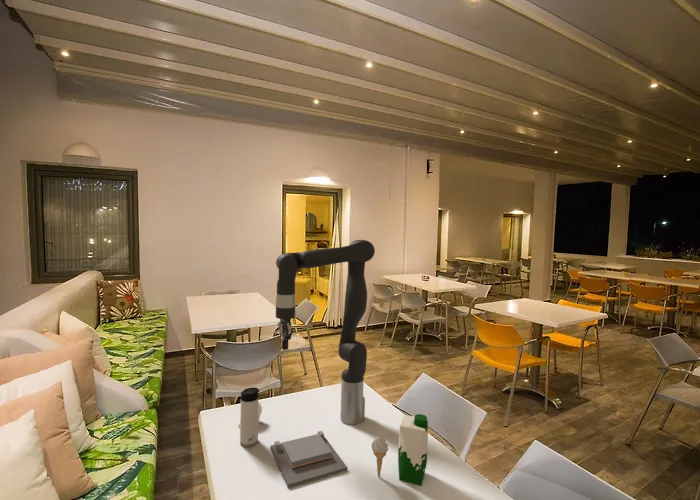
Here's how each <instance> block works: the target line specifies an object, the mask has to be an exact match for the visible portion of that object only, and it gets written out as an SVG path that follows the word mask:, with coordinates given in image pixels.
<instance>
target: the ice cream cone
mask: <svg viewBox="0 0 700 500" xmlns="http://www.w3.org/2000/svg"><path fill="white" fill-rule="evenodd" d="M378 433H379V434H378V435H377V437H375V439H373V441H372V443H371V445H370V446H371V450H372V452H373V455H374V457H376V471H377V478H380V477H381V472H382V464H383V459H384V457H386V456H387V452H388V450H389V444H388V442H386V439H385V438H384V436H383V435H382V432H381V431H380V432H378Z"/></svg>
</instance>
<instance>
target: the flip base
mask: <svg viewBox="0 0 700 500" xmlns="http://www.w3.org/2000/svg"><path fill="white" fill-rule="evenodd" d="M317 434H319V435H320V436H321V437H322V439H323V440H324V442H325V443H326V444H327V446H328V447H329V449H330V450H331V451H332V457H331V458H328V459H324V460H320V461H317V462H313V463H309V464H306V465H302V466H298V467H295V468H291V466H290V464H289V462H288V460H287V458H286V456H285V454H284V452H283V450H282V442H280V440H275V441H274V442H273V443H274V444H272V445H271V444H270V445H269V446H270V447H269V449H270V451H271V454H272V456H273V458H274V461H275V462H276V464H277V467H278V469H279V472H280V474H281V476H282V478H283V480H284V482H285V485H286V488H287V489H290V488H293V487H296V486H297V487H298V486H301V485H304V484H307V483H311V482H314V481H317V480H320V479H323V478H327V477H328V478H329V477H330V476H331V477H332V476H334V475H338V474H341V473H345V472H348V466H347V464H346V463H345V462H344V460H343V459H342V458H341V457H340V455H339V454H338V453H337V451H336V449H334V448H333V446H332V444H331V442H329V441H328V439H327V438H326V437H325V433H324V431H323V430H319V431H317Z"/></svg>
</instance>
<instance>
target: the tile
mask: <svg viewBox="0 0 700 500" xmlns="http://www.w3.org/2000/svg"><path fill="white" fill-rule="evenodd" d="M281 443H282V450H283V452H284V454H285V456H286V458H287V460H288V462H289V464H290V466H291V468H295V467H298V466H302V465H306V464H309V463H313V462H317V461H320V460H324V459H328V458H331V457H332V451H331V450H330V449H329V447H328V446H327V444H326V443H325V442H324V440H323V439H322V437H321V436H320V435H319V434H318V433H316V434H312V435H307V436H304V437H300V438H296V439H291V440H287V441H282V442H281Z"/></svg>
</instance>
